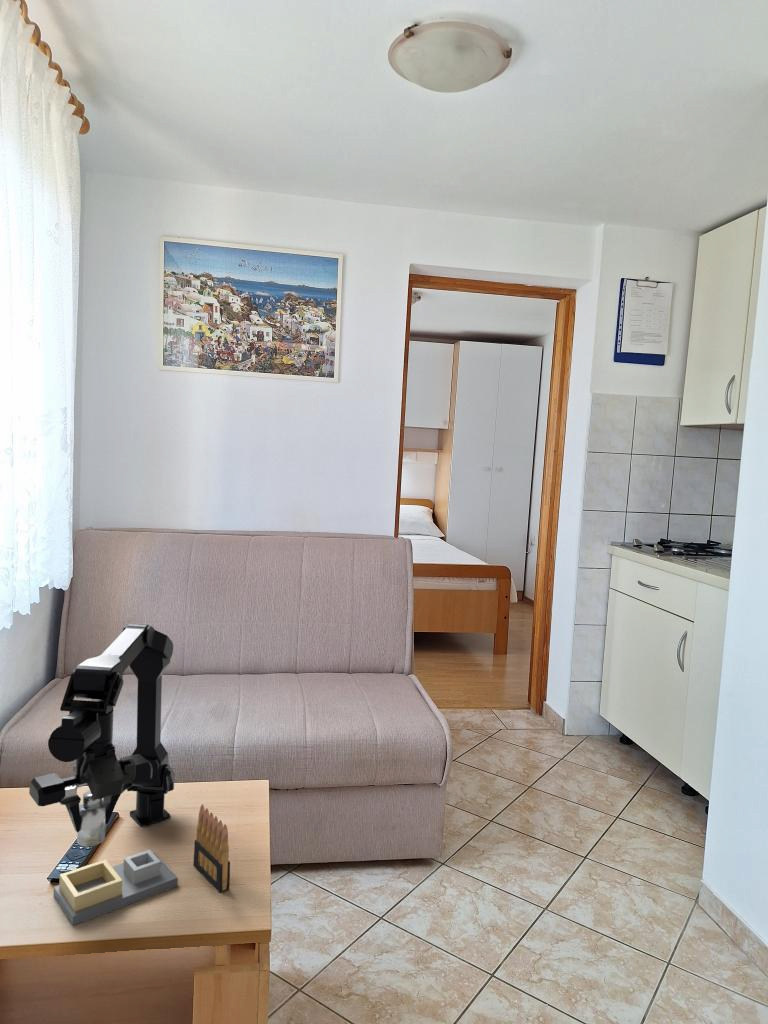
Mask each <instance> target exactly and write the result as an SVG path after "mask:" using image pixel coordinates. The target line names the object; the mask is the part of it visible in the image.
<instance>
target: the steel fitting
mask: <svg viewBox="0 0 768 1024" xmlns="http://www.w3.org/2000/svg"><path fill="white" fill-rule="evenodd" d="M82 794H83V795H82V802H80V803H79V813H80V831H79V832H76V833H77V836H76V837H77V838H76V842H77V844H78V846H81V847H85V848H87V847H94V846H97V845H100V844H102V843H103V842H104V841H105V839H106V826H107V824H106V802H105V801H103V798H102V799H95V798H93V797H92V795H91V791H90V790H87V791H86V792H84V793H82Z"/></svg>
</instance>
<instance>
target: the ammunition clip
mask: <svg viewBox="0 0 768 1024" xmlns="http://www.w3.org/2000/svg"><path fill="white" fill-rule="evenodd" d="M229 847H230V846H229V831H228V826H227V824H226V823H224V825H223V821H222V819H221V820H220V819H218V817H217V815H215V816H214V813H213V812H209V809H208V808H205V805H204V804H201V806H200V808H199V812H198V820H197V826H196V839H194V847H193V849H194V850H193V851H194V852H193V864H192V865H193V867H194V868H195V869H196V870H197V871H198V873H200V874H201V875H202V876H203V877H204V878H205V879H206V881H208V883H210V885H211V886H213V888H214V889H215V890H216V891H217V892H218V893H219V894H221V893H224V892H225V891H228V890H230V883H231V882H230V880H231V879H230V877H231V873H230V872H231V861H230V860H229V857H230V856H229V855H230V854H229V853H230V849H229Z"/></svg>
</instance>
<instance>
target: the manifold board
mask: <svg viewBox="0 0 768 1024" xmlns="http://www.w3.org/2000/svg"><path fill="white" fill-rule="evenodd" d="M178 879H179V878H178V877H177V875H175V873H174V872H173V870H171V869H170V868H169V867H168V866H167V864H166V863H165V862H164V861H163V860H162V859H161V857H159V856H158V855H157V854H156V853H155V852H153V851H152V850H151V849H147V850H145V851H141V852H138V853H136V854H133V855H129V856H126V857H123V862H122V863H120V864H116V865H113V866H111V864H110V863H109V861H108V860H107V859H103V860H99V861H97V862H93V863H91V864H87V865H84V866H82V867H79V868H76V869H73V870H69V871H66V872H64V873H60V874H59V883H58V885H55V886H53V897H54V898H55V900H56V902H57V903H58V904H59V906H60V908H61V910H62V911H63V913H64V915H65V916H66V917H67V919H68V921H69V922H70V924H71V925H72V926H75V925H77V924H81V923H82V922H83V923H84V922H86V921H89V920H91V919H93V918H96V917H99V916H102V915H104V914H106V913H109V912H112V911H115V910H118V909H121V908H123V907H126V906H128V905H130V904H133V903H136V902H138V901H141V900H143V899H147V898H150V897H152V896H154V895H156V894H159V893H162V892H164V891H168V890H170V889H173V888H176V887H178V883H179V881H178Z"/></svg>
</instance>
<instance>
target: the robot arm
mask: <svg viewBox="0 0 768 1024" xmlns="http://www.w3.org/2000/svg"><path fill="white" fill-rule="evenodd" d="M173 653H174V643H173V641H172V640H171V638H170V637H169V636H168V635H167V634H165V633H162V632H160V631H159V630H156V629H155V627H153V626H151V625H149V624H143V623H129V624H125V625H124V626H123V629H122V631H121V633H120V634H119V635H118V636H117V637H116V638H115V639H114V640H113V642H111V644H109V646H108V647H107V648H106V649H105V650H104V651H103V652H102V653H101V654H100V655H98V656H95V657H89V658H86V660H84V661H82V662H81V663H79V664H78V665H77V666H76V668H75V669H74V670H73V671H72V673H71V674H70V677H69V681H68V684H67V686H66V690H65V693H64V695H63V699H62V702H61V704H60V711H61V712H68V713H69V714H67V715H65V716H63V717H62V718H61V725H58V727H56V728H55V729H54V730H53V731H52V732H51V734H50V735H49V738H48V741H47V747H48V750H49V752H50V754H51V755H52V757H54V759H56V760H57V761H59V762H63V763H71V762H74V761H75V763H73V767H72V768H73V769H72V771H73V772H74V775H72V776H69V777H65V778H61V777H60V776H59V775H58V773H56V772H53V773H49V774H44V775H40V776H34V777H33V779H32V780H31V781H30V783H29V796H30V797H31V798H32V800H33V801H34V803H36V806H38V807H46V806H47V807H48V806H51V805H53V804H58V803H59V804H60V805H62V806H65V807H66V810H67V813H68V815H69V818H70V821H71V823H72V826H73V828H74V831H75V832H76V833H78V832H79V831H80V813H79V805H80V804H81V800H82V798H81V797H80V796H79V794H78V788H82V787H85V786H88V789H89V791H91V795H92V797H93V798H95V799H102V800H103V801H105V802H106V825H107V824H109V822H110V820H111V817H112V814H113V812H114V809H115V808H116V805H117V803H118V800H119V798H120V796H121V795H122V794H123V793H124V792H125V791H127V792H136V795H135V796H136V798H135V809H133V810H131V811H129V815H130V816H131V817H132V819H133V820H134V821H135V822H136V823H137V824H138V825H139V826H141V827H144V826H147V825H150V824H153V823H157V822H160V821H163V820H166V819H169V818H171V814H170V812H168V811H167V809H165V796H166V794H168V793H169V792H171V791H174V790H175V781H176V779H175V777H176V774H175V771H174V770H173V768H172V766H171V765H170V764H169V753H168V751H167V749H166V748H165V746H164V745H163V744H162V741H161V734H162V733H161V732H162V729H161V728H162V724H161V723H162V692H163V691H162V690H163V689H162V686H163V685H162V684H163V674H164V673H165V672H166V669H167V668H168V667H169V665H170V664H171V659H172V657H173ZM128 668H130V670H131V671H132V673H133V674H134V676H135V677H136V680H137V695H136V696H137V697H136V699H137V702H136V703H137V704H136V706H137V707H136V746H135V747H136V748H135V749H134V751H133V752H132V753H131V755H127V756H124V757H123V756H122V757H120V758H119V759H118V758H117V755H116V749H115V748H116V745H114V744H113V739H114V737H113V734H114V733H113V732H114V731H113V730H114V707H116V705H117V703H118V701H119V700H118V699H119V697H120V694H121V691H122V688H123V686H124V679H123V674H124V672H125V671H126V670H127V669H128ZM75 698H76V699H75ZM81 699H87V700H81ZM88 699H89V700H88Z"/></svg>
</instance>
